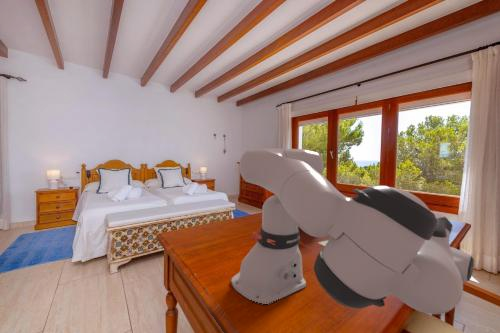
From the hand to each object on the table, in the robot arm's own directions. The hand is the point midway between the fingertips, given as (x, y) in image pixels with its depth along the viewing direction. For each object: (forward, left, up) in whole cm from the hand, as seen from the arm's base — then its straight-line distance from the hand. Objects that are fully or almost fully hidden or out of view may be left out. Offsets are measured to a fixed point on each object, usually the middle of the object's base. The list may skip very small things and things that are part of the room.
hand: (368, 232), depth 83 cm
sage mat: (-7, +10, -7) cm, 14 cm away
